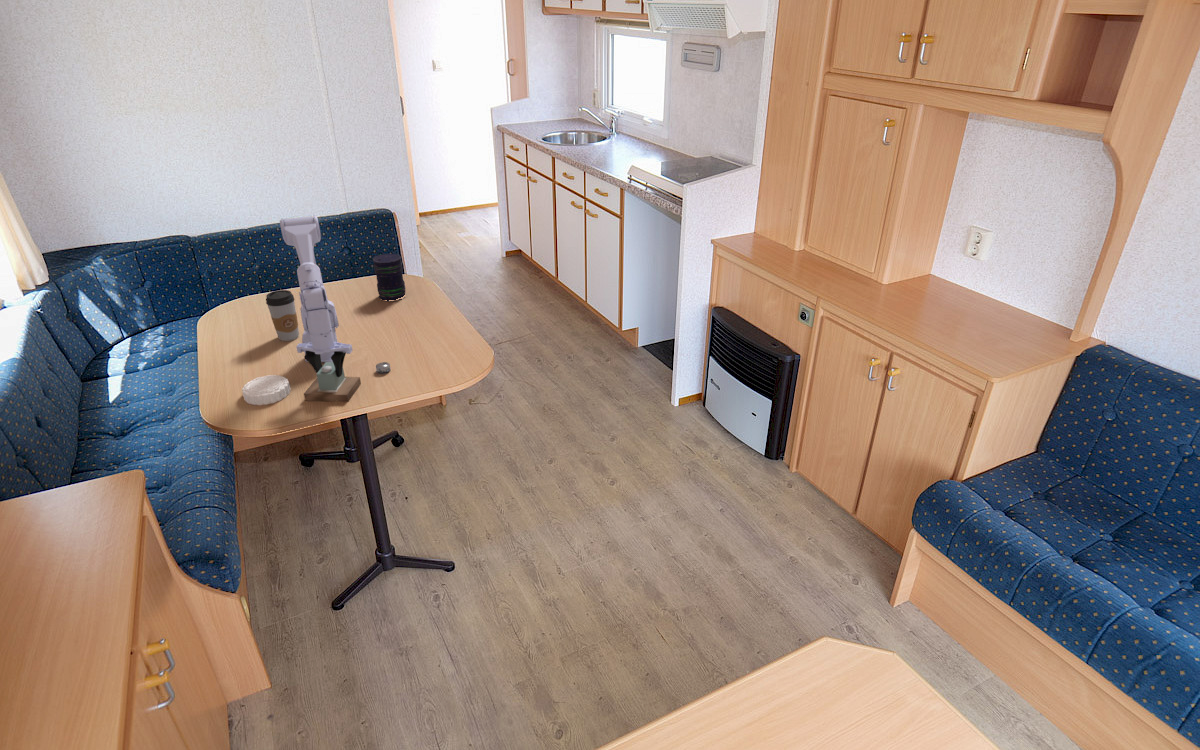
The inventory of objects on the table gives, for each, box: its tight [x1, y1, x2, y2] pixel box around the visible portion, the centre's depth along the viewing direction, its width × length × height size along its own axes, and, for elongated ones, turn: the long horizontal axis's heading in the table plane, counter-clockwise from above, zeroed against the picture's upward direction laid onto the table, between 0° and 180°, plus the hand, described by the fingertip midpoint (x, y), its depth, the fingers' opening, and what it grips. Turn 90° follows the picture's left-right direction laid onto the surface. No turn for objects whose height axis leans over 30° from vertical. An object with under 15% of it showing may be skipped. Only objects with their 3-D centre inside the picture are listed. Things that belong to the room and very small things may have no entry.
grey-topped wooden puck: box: [375, 361, 391, 375], centre depth 203 cm, size 4×4×2 cm
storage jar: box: [372, 253, 406, 302], centre depth 250 cm, size 10×10×15 cm
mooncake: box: [241, 374, 292, 406], centre depth 191 cm, size 12×12×4 cm
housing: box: [315, 362, 346, 390], centre depth 190 cm, size 7×4×6 cm, turn 178°
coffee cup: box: [265, 289, 300, 342], centre depth 220 cm, size 8×8×15 cm
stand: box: [303, 376, 362, 402], centre depth 192 cm, size 12×10×2 cm
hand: (330, 375), depth 190 cm, fingers open, 5 cm apart
